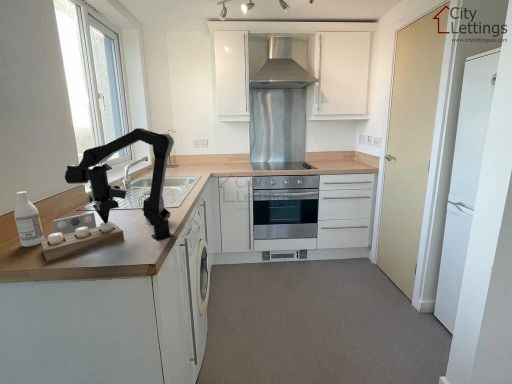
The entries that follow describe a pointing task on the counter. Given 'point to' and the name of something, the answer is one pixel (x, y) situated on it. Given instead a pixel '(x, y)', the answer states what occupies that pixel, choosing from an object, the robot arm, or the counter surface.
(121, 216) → the counter surface
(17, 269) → the counter surface
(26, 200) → the bath foam
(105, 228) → the button
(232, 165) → the counter surface
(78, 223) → the placard
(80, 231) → the button middle
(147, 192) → the french press
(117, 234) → the board
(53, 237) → the button
